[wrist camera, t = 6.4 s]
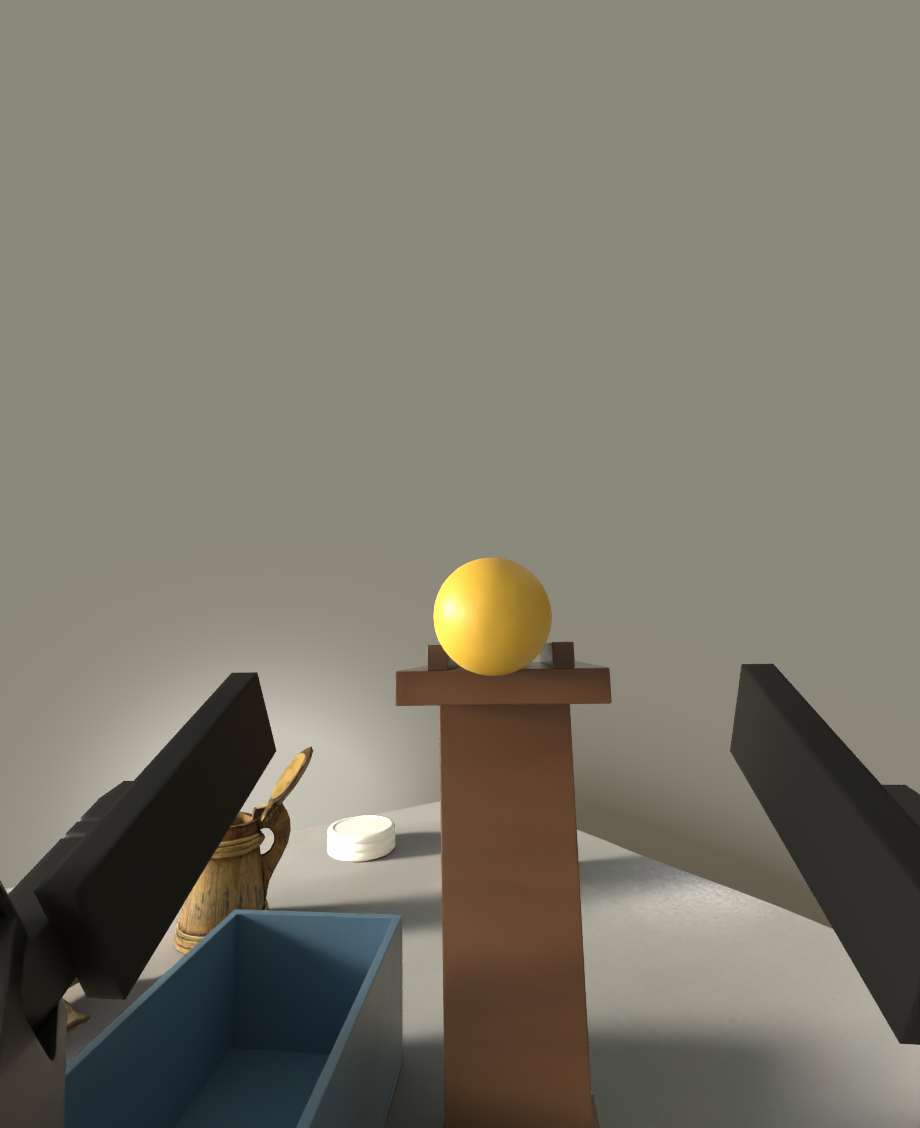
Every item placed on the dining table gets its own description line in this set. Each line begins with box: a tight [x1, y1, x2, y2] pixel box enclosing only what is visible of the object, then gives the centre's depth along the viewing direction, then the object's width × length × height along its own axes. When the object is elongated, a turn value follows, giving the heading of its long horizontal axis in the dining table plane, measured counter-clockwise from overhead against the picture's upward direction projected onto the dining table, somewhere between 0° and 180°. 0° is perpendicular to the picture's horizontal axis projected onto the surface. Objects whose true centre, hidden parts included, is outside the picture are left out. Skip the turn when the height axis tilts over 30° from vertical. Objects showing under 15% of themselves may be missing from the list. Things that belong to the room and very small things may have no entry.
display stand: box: [395, 642, 612, 1128], centre depth 28 cm, size 13×10×29 cm
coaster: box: [327, 815, 395, 862], centre depth 77 cm, size 10×10×4 cm
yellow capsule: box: [433, 558, 552, 676], centre depth 26 cm, size 20×4×4 cm, turn 174°
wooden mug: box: [174, 747, 313, 954], centre depth 57 cm, size 9×14×18 cm, turn 117°
